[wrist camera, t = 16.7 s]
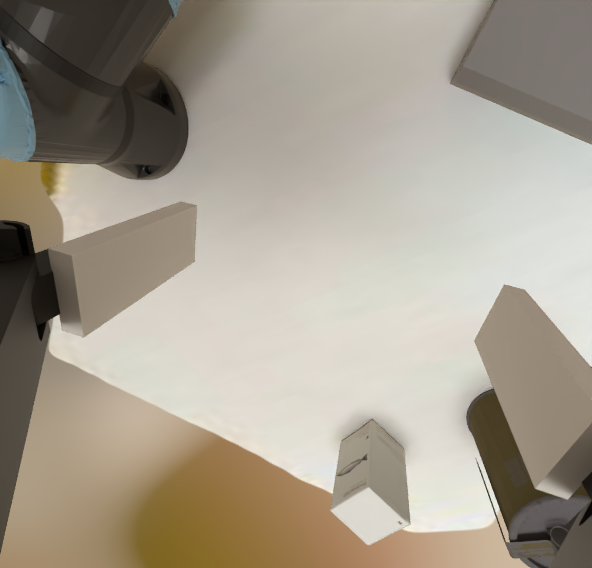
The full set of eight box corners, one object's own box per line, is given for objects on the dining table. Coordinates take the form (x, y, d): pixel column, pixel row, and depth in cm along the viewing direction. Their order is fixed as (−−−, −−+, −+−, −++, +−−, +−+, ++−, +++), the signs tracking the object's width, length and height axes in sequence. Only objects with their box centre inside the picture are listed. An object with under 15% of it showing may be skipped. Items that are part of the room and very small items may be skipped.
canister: (536, 378, 44) (649, 519, 26) (558, 441, 46) (679, 616, 28) (453, 397, 48) (499, 534, 29) (476, 455, 50) (534, 618, 31)
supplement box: (372, 417, 52) (370, 486, 40) (405, 449, 52) (413, 526, 41) (339, 440, 55) (328, 510, 43) (371, 470, 55) (368, 548, 43)
